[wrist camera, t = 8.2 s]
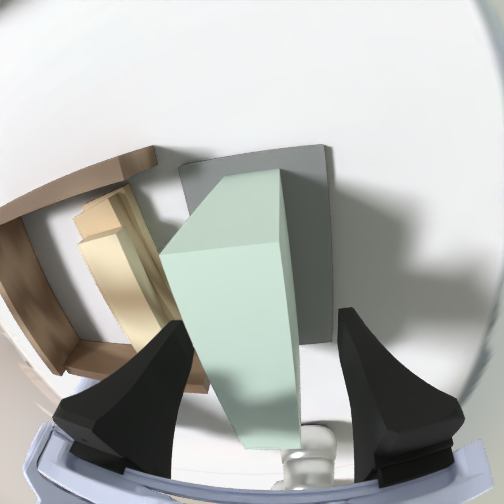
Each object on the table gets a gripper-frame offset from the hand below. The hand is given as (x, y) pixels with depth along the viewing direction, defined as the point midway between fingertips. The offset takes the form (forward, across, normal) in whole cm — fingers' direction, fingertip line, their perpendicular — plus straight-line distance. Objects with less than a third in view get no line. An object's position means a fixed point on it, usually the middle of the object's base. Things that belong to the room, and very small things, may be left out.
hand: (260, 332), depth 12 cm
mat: (+6, 0, 0) cm, 6 cm away
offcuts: (+7, +9, 0) cm, 11 cm away
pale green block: (+6, 0, 0) cm, 6 cm away
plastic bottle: (+6, -2, +24) cm, 25 cm away
